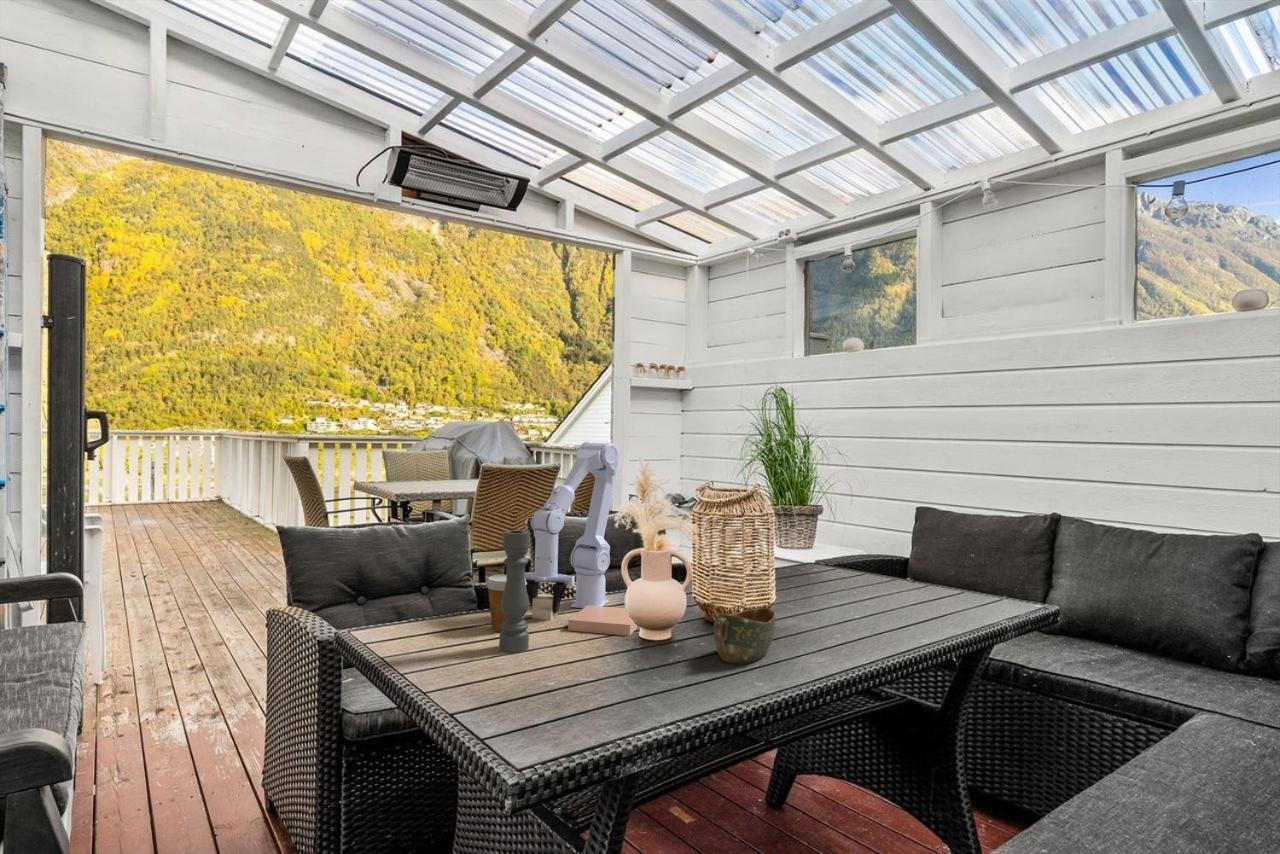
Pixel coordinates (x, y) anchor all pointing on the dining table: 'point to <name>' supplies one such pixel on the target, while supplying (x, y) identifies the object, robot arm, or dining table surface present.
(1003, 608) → the dining table surface
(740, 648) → the creamer
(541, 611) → the birch block
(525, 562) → the candle holder
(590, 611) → the terracotta base
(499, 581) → the disposable coffee cup
